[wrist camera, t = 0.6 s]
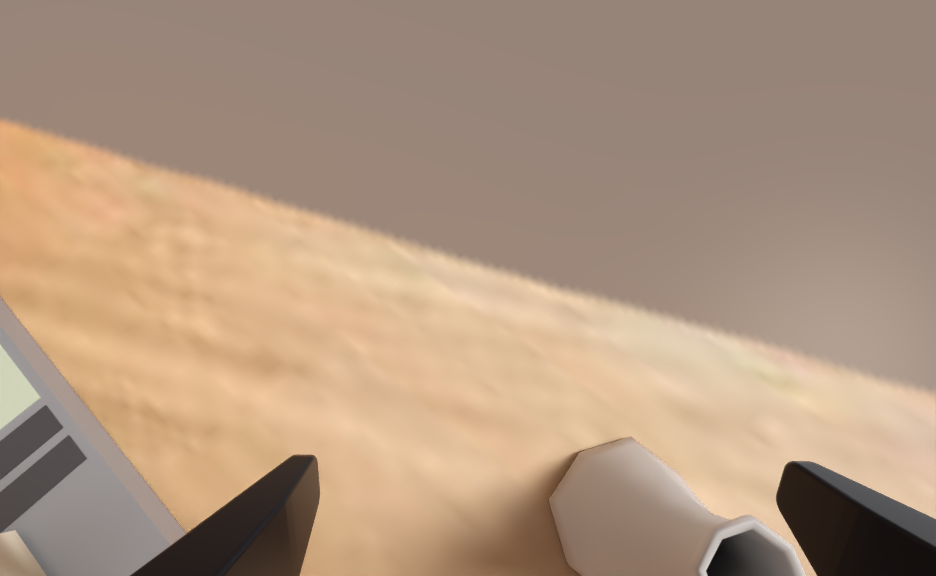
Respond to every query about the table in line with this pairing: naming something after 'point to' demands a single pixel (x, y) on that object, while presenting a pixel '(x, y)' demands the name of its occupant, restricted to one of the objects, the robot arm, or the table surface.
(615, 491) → the flask
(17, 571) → the maple block
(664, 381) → the table surface
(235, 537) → the robot arm
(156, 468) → the table surface
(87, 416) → the grey piece
